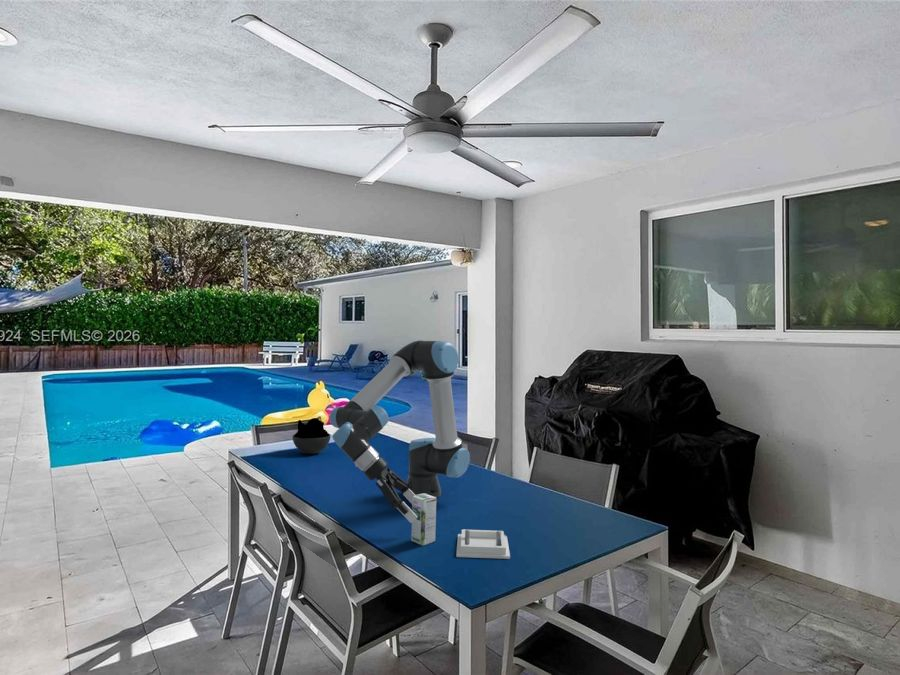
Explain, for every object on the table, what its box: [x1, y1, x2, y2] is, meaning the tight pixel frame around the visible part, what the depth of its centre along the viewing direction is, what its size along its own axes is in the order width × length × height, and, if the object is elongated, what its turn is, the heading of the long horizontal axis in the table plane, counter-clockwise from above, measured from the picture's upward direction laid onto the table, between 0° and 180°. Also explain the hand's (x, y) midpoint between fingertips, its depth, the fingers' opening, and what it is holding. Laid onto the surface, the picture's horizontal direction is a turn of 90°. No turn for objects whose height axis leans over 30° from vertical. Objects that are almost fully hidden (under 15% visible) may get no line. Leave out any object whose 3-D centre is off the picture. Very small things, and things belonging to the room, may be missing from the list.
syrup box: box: [411, 493, 437, 547], centre depth 170 cm, size 6×6×14 cm
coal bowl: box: [292, 417, 332, 455], centre depth 287 cm, size 20×20×19 cm
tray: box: [456, 529, 511, 560], centre depth 166 cm, size 16×16×5 cm
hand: (417, 512), depth 169 cm, fingers open, 13 cm apart
